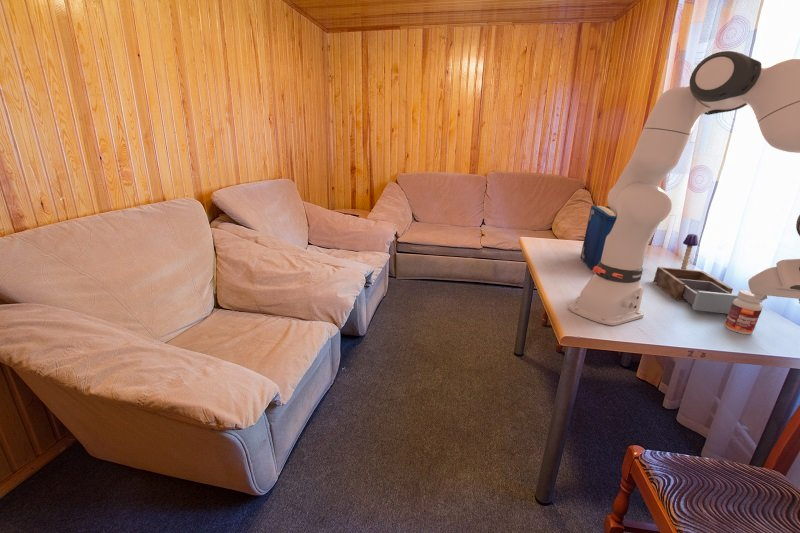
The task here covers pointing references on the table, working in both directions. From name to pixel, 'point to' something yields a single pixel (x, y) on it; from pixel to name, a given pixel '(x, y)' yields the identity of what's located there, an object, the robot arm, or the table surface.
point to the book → (597, 234)
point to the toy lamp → (689, 248)
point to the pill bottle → (744, 313)
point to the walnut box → (675, 287)
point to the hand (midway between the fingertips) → (779, 299)
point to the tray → (707, 296)
